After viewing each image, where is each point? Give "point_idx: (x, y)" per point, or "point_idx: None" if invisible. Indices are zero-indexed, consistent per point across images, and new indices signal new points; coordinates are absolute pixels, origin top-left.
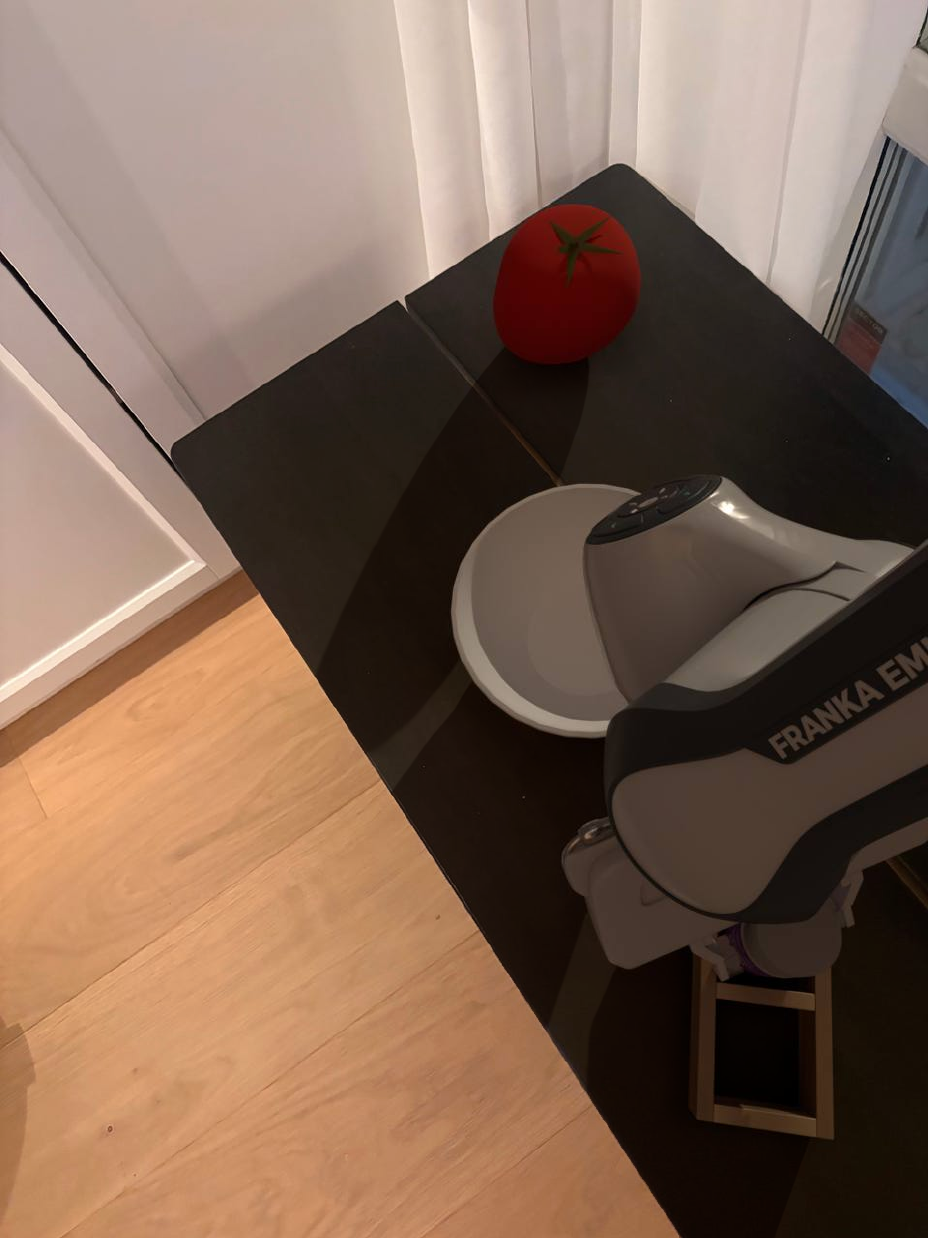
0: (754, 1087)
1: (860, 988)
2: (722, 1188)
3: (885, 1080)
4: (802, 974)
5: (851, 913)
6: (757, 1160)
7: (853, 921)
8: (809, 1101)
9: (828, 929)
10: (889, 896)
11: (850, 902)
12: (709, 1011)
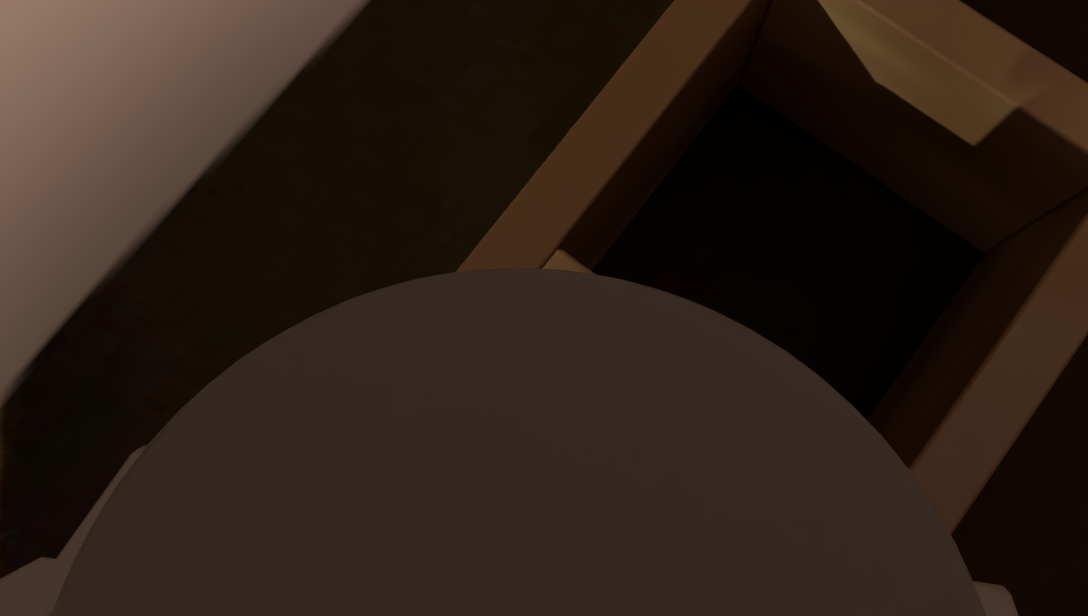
0: (826, 192)
1: (353, 258)
2: (1069, 22)
3: (465, 23)
4: (760, 360)
5: (94, 512)
6: None
7: (127, 464)
8: (741, 43)
9: (198, 605)
10: (72, 439)
11: (31, 581)
12: (946, 463)
